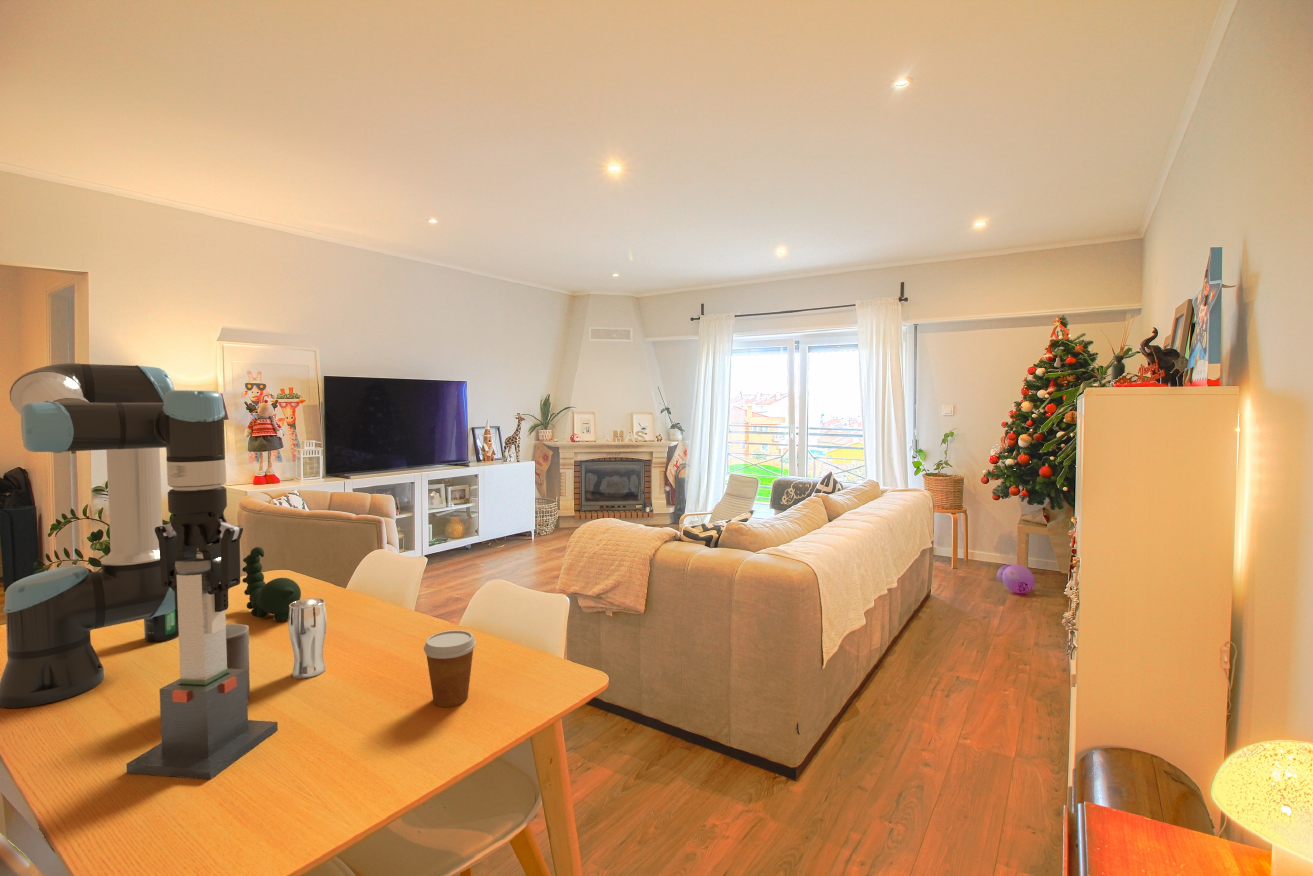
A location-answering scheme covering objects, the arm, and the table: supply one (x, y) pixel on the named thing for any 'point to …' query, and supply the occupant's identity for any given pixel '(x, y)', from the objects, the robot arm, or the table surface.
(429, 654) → the disposable coffee cup
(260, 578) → the toy figurine
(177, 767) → the jack stand
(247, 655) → the pillar candle
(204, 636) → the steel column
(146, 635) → the supplement bottle
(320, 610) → the beer glass
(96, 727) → the table surface
